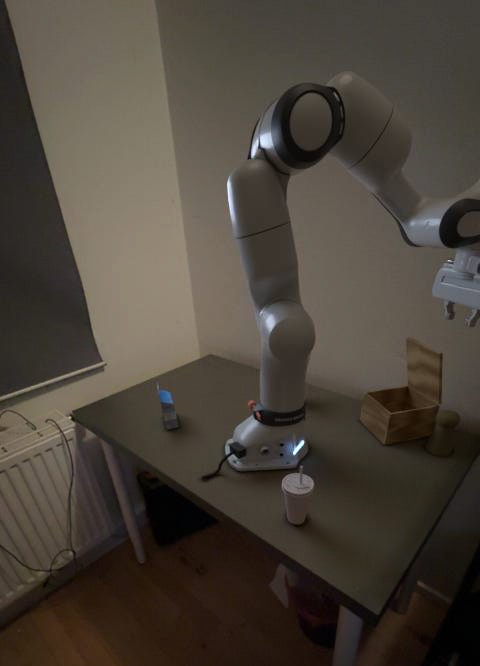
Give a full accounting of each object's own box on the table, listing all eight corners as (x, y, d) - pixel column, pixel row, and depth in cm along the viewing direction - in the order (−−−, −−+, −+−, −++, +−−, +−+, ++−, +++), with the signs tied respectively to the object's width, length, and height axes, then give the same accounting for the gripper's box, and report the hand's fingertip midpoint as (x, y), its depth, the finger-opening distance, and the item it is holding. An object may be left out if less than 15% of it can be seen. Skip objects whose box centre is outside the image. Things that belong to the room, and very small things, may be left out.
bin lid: (439, 353, 83) (442, 352, 83) (405, 337, 94) (408, 336, 94) (438, 405, 91) (441, 404, 91) (407, 384, 102) (410, 383, 102)
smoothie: (304, 534, 70) (308, 480, 62) (275, 522, 73) (276, 470, 65) (316, 513, 74) (321, 461, 67) (288, 503, 77) (290, 452, 70)
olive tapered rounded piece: (425, 440, 95) (435, 405, 89) (450, 444, 93) (462, 408, 87) (426, 453, 90) (436, 416, 84) (452, 457, 88) (465, 420, 82)
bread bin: (384, 444, 94) (390, 414, 89) (359, 420, 105) (364, 392, 100) (431, 436, 96) (439, 406, 91) (402, 413, 107) (408, 385, 102)
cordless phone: (179, 427, 107) (172, 391, 100) (165, 430, 106) (158, 394, 99) (175, 414, 114) (169, 380, 107) (162, 416, 113) (156, 382, 106)
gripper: (432, 258, 88) (420, 314, 95) (501, 269, 71) (479, 335, 78) (454, 256, 89) (441, 311, 96) (527, 266, 72) (503, 332, 79)
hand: (458, 322), depth 87 cm, fingers open, 6 cm apart
